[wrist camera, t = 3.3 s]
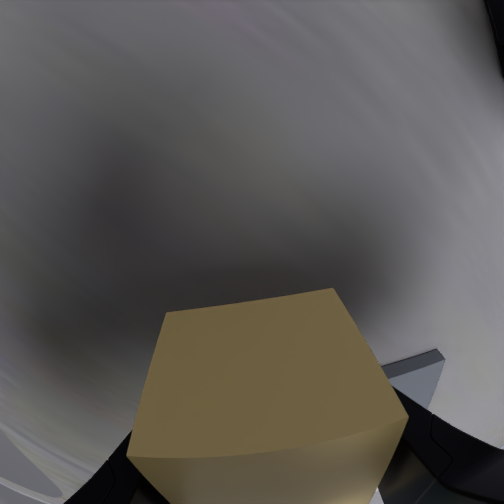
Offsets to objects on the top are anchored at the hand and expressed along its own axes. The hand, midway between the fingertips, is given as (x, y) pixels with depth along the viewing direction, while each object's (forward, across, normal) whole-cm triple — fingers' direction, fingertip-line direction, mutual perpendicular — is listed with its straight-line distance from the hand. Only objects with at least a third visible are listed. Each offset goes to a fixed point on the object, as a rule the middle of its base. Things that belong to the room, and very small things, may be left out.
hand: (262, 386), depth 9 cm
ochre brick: (+1, 0, 0) cm, 1 cm away
